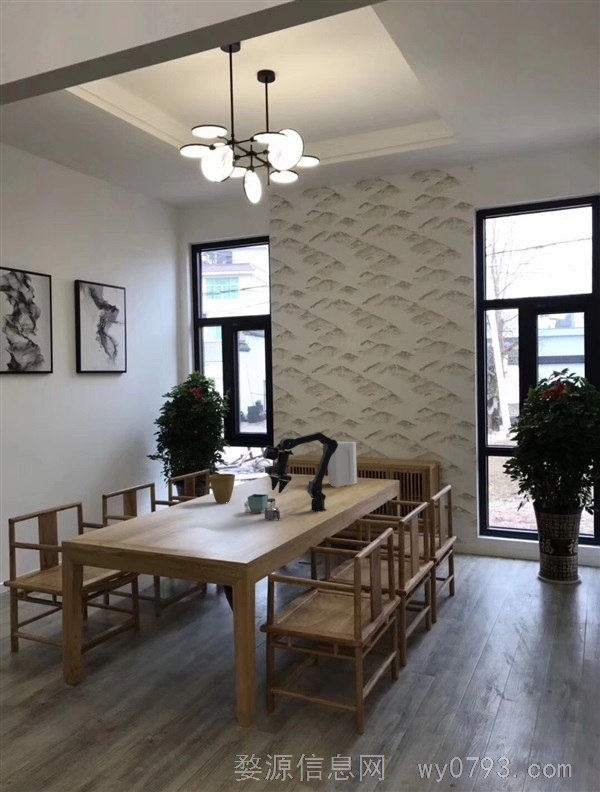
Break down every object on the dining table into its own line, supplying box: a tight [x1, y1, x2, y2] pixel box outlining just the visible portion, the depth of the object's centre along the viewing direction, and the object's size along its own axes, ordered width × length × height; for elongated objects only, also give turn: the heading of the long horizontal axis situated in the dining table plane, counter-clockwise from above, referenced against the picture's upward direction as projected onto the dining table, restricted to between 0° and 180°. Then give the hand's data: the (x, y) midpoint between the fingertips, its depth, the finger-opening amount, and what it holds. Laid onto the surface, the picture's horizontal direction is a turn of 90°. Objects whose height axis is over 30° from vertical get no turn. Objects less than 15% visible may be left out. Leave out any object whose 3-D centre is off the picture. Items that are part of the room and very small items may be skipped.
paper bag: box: [327, 441, 358, 486], centre depth 416 cm, size 19×15×28 cm
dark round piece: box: [267, 497, 277, 510], centre depth 323 cm, size 5×5×6 cm
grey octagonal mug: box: [264, 506, 281, 521], centre depth 322 cm, size 7×10×5 cm
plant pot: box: [209, 473, 236, 504], centre depth 370 cm, size 15×15×16 cm
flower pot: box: [247, 493, 269, 513], centre depth 339 cm, size 9×9×9 cm
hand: (276, 491), depth 331 cm, fingers open, 9 cm apart
